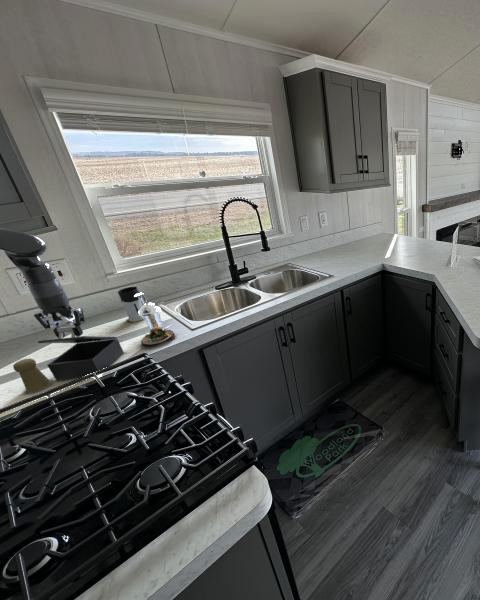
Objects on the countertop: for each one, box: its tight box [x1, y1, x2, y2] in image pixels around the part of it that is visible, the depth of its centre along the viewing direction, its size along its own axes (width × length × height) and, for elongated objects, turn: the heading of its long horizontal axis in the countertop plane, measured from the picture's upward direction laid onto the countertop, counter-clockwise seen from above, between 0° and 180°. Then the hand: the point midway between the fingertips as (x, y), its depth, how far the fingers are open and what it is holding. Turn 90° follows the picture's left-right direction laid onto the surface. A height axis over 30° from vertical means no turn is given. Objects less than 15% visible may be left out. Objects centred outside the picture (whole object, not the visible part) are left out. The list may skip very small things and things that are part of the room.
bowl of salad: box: [140, 325, 176, 346], centre depth 140 cm, size 12×12×8 cm
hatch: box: [37, 326, 118, 344], centre depth 122 cm, size 15×15×5 cm
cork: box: [13, 358, 51, 393], centre depth 114 cm, size 6×6×11 cm
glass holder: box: [117, 286, 148, 323], centre depth 158 cm, size 9×14×15 cm, turn 72°
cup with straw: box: [133, 292, 165, 331], centre depth 145 cm, size 8×9×20 cm
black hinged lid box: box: [46, 338, 125, 381], centre depth 125 cm, size 15×15×7 cm
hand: (70, 336), depth 118 cm, fingers closed on hatch, 5 cm apart
